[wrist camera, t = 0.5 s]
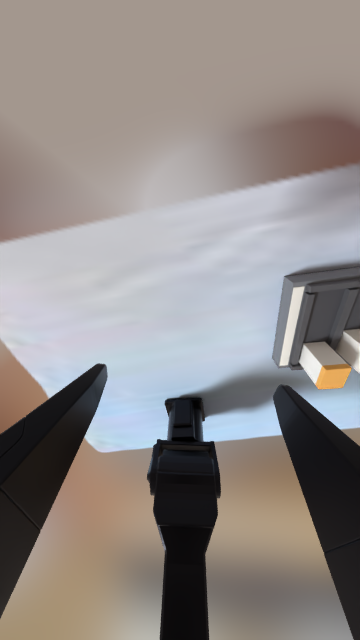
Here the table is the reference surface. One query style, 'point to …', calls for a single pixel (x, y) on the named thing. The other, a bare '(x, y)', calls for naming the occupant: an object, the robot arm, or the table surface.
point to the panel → (315, 312)
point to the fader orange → (324, 365)
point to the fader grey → (350, 347)
